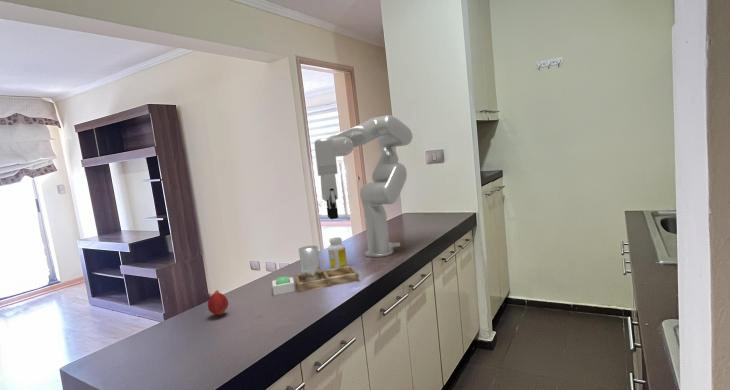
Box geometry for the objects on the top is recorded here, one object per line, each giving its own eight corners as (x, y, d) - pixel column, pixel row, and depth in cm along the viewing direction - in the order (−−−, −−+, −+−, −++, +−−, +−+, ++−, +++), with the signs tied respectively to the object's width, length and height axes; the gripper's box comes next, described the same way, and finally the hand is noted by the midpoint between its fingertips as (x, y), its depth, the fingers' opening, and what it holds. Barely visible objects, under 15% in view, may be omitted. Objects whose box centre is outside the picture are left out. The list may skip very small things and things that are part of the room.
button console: (293, 288, 138) (292, 277, 137) (295, 294, 131) (293, 282, 130) (273, 291, 136) (272, 280, 136) (274, 298, 129) (272, 286, 129)
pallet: (352, 274, 146) (351, 265, 146) (359, 283, 135) (358, 273, 134) (296, 284, 141) (294, 275, 141) (298, 295, 130) (297, 285, 129)
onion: (210, 321, 115) (206, 295, 114) (208, 315, 120) (204, 290, 120) (230, 315, 118) (227, 290, 117) (228, 310, 123) (224, 285, 122)
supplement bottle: (348, 267, 156) (345, 236, 155) (346, 272, 149) (342, 239, 148) (332, 268, 157) (328, 237, 155) (329, 273, 150) (325, 241, 149)
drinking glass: (320, 279, 141) (316, 244, 139) (323, 285, 134) (318, 248, 133) (302, 283, 139) (297, 247, 138) (304, 288, 133) (299, 251, 131)
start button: (289, 289, 136) (288, 275, 135) (290, 293, 132) (288, 278, 131) (278, 291, 135) (276, 277, 134) (278, 295, 131) (276, 280, 130)
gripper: (315, 171, 156) (320, 216, 158) (320, 172, 140) (326, 222, 142) (333, 169, 158) (338, 214, 160) (341, 170, 142) (346, 219, 144)
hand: (333, 217), depth 151 cm, fingers open, 3 cm apart
